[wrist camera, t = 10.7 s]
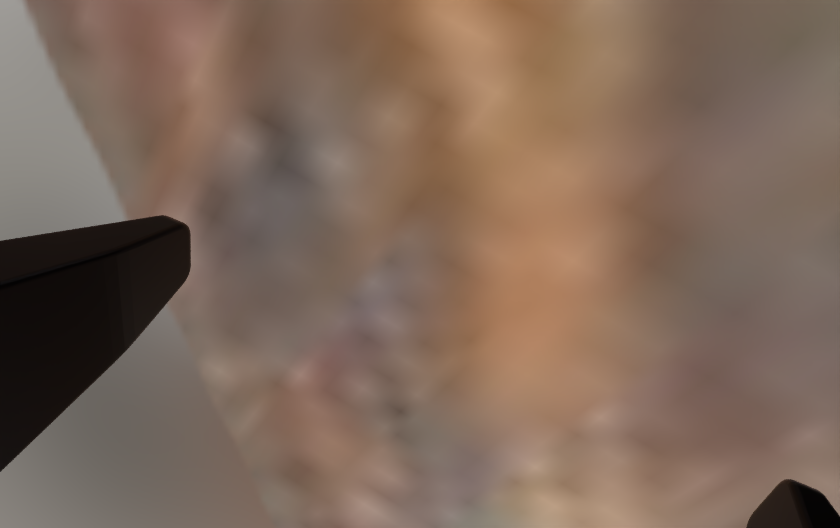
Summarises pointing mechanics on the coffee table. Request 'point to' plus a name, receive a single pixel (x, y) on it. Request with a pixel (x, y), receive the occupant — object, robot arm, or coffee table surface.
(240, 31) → the coffee table surface
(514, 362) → the coffee table surface
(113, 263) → the robot arm
